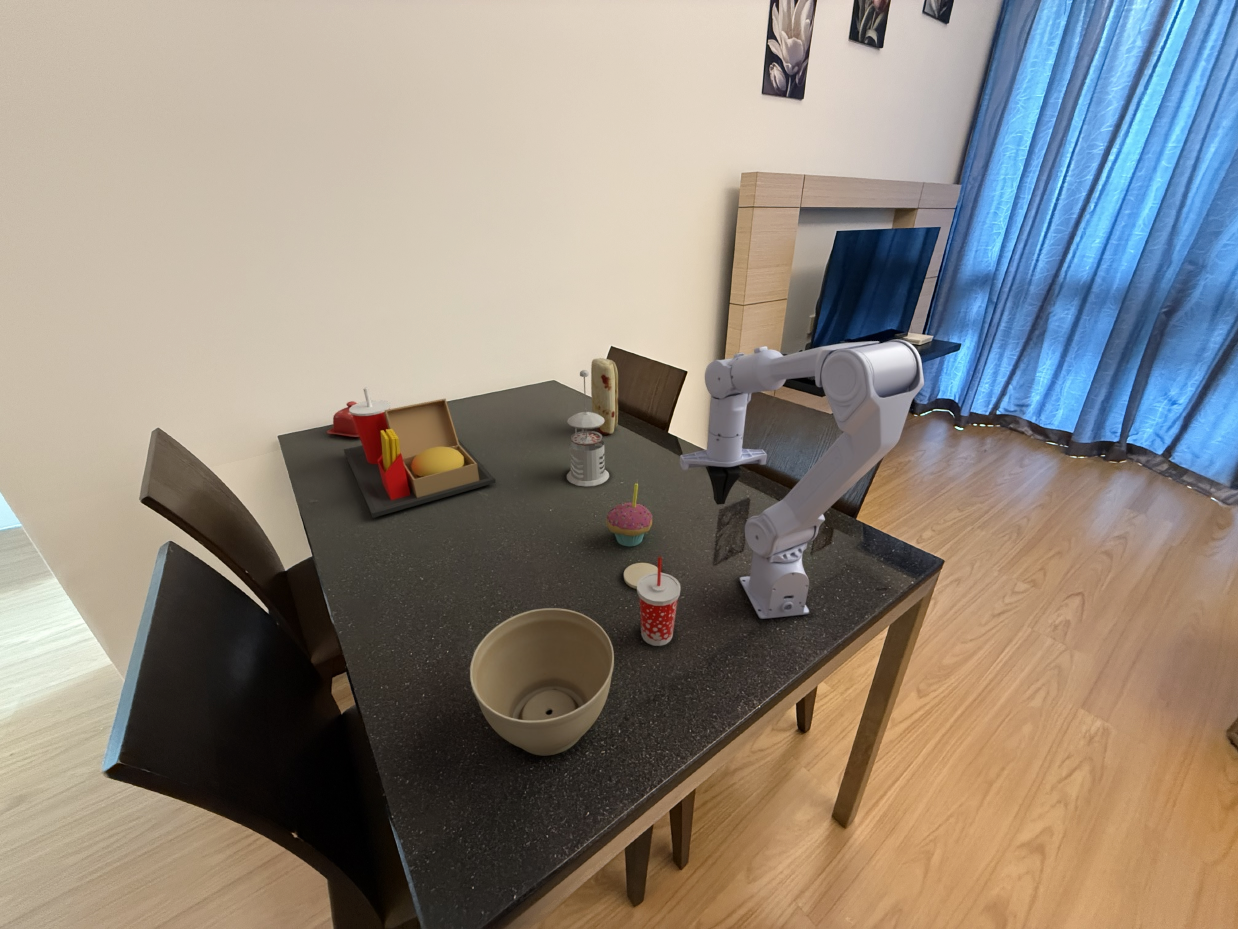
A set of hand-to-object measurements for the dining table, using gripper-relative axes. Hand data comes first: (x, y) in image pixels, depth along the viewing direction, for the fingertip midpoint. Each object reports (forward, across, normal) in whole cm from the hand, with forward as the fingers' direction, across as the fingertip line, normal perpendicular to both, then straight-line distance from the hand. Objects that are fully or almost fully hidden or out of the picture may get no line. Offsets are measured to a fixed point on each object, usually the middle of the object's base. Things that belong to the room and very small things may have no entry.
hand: (719, 501), depth 93 cm
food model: (+10, +14, -55) cm, 58 cm away
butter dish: (+10, +81, -65) cm, 104 cm away
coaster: (+9, +15, +7) cm, 19 cm away
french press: (+10, +21, -31) cm, 39 cm away
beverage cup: (+10, +15, +20) cm, 27 cm away
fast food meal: (+10, +60, -38) cm, 72 cm away
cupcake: (+10, +15, -4) cm, 18 cm away
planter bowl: (+10, +31, +32) cm, 46 cm away
